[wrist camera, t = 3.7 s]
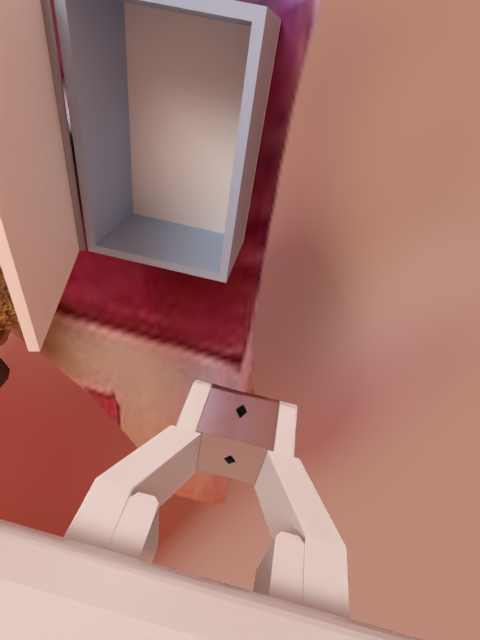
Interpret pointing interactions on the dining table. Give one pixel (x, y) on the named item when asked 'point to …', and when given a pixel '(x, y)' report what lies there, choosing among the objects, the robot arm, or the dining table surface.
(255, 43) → the box
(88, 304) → the dining table surface
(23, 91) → the lid
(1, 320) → the stuffed squirrel
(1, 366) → the beer bottle
